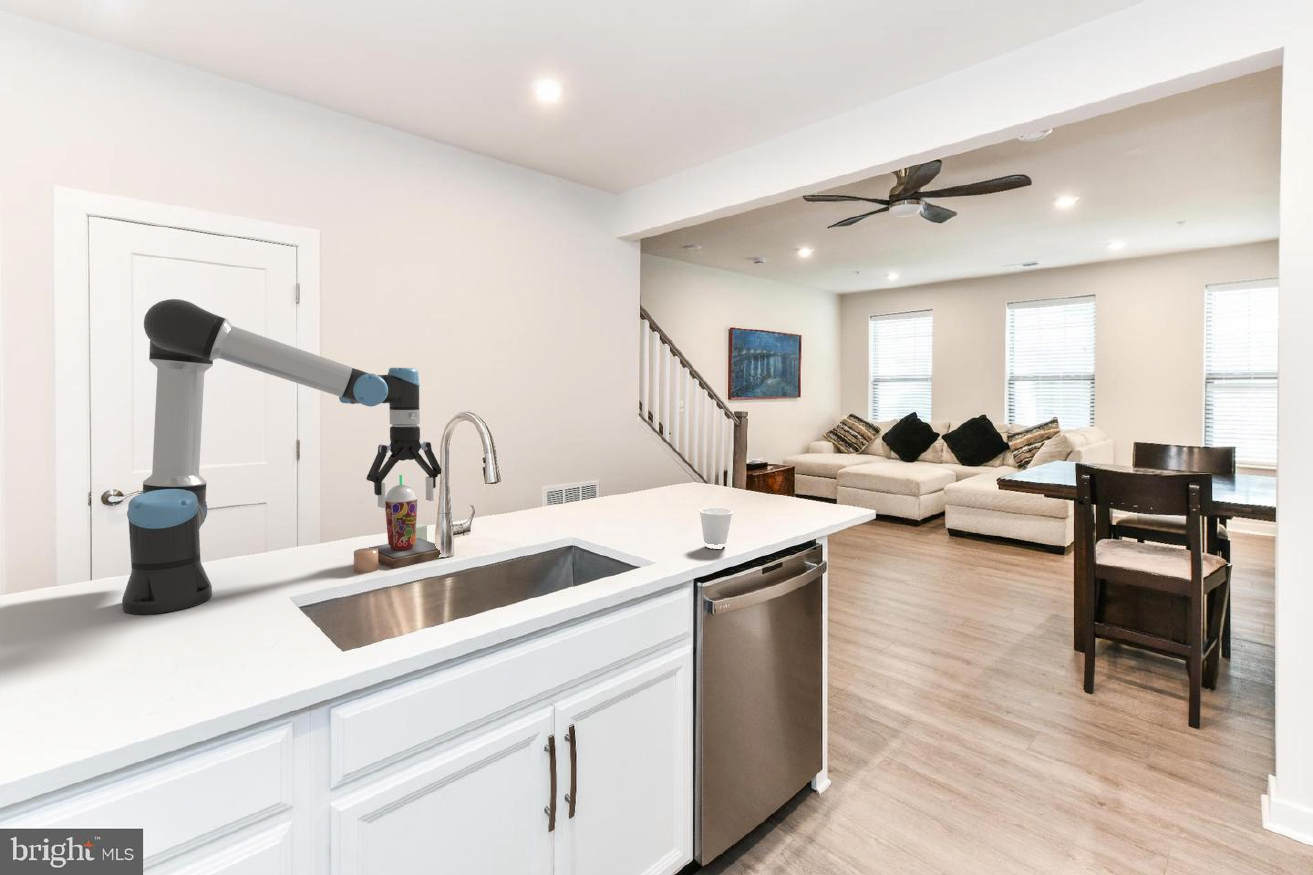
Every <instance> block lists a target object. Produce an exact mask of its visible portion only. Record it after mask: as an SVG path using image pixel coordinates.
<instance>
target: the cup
mask: <svg viewBox="0 0 1313 875" xmlns="http://www.w3.org/2000/svg"><path fill="white" fill-rule="evenodd" d="M698 512H699V513H700V514H699V515H700V522H701V528H702V534H703V535H702V536H703V543H704V542H705V543H707V544H714V545H718V544H725V543H726V544H727V541H728V535H729V530H730V525H731V520H732V516H733V513H734V511H733V510H731V509H728V508H724V507H704V508H701V509H699V510H698Z"/></svg>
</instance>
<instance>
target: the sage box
mask: <svg viewBox="0 0 1313 875" xmlns="http://www.w3.org/2000/svg"><path fill="white" fill-rule="evenodd" d="M416 538H420V539H423V540H426V541H428V526H427V524H423V523H422V524H420V523H416Z"/></svg>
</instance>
